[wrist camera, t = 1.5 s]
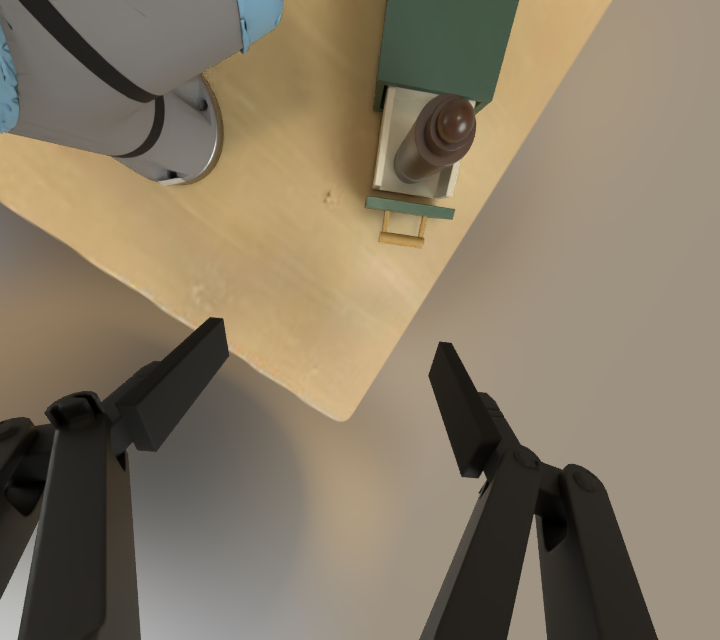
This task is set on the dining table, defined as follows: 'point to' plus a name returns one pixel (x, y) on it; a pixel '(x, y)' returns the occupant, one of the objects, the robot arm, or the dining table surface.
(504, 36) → the cabinet
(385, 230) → the drawer
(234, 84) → the dining table surface
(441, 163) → the pepper mill
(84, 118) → the robot arm
